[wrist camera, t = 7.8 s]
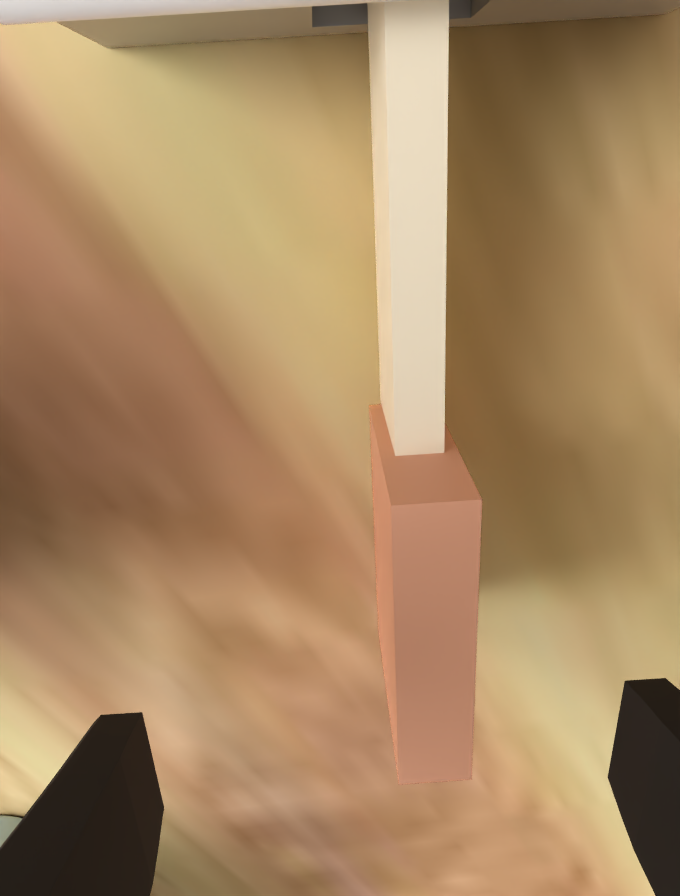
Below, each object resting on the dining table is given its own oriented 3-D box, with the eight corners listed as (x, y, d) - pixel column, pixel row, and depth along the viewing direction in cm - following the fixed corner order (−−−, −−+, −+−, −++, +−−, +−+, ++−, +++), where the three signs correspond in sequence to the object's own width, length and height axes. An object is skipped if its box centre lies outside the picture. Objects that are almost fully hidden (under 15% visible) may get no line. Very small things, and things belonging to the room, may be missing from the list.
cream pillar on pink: (432, 623, 19) (471, 779, 14) (377, 627, 19) (398, 784, 14) (434, -343, 11) (528, -732, 6) (338, -337, 11) (356, -725, 6)
